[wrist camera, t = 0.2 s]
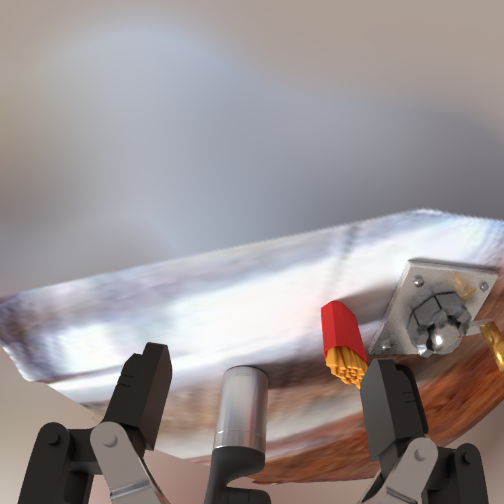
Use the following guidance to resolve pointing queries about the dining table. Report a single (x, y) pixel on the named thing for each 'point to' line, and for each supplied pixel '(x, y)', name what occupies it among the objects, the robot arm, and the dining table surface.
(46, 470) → the robot arm
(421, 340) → the spiky gray ring
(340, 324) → the french fries
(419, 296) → the flange plate
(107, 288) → the dining table surface
